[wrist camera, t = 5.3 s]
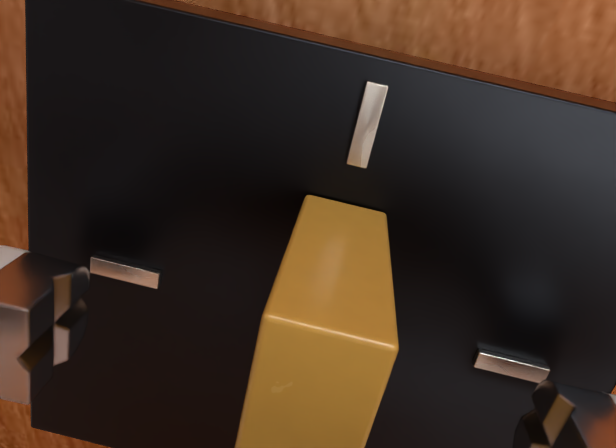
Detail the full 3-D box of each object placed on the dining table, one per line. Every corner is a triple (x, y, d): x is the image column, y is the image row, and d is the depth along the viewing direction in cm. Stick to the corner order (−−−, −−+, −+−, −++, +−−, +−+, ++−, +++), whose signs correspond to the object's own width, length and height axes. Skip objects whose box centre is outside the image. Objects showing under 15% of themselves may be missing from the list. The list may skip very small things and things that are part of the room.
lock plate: (93, 352, 15) (25, 433, 12) (111, -15, 11) (16, -28, 8) (490, 451, 14) (521, 559, 12) (656, 112, 11) (765, 147, 8)
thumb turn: (305, 192, 9) (256, 326, 5) (387, 211, 9) (403, 361, 5) (258, 404, 11) (197, 619, 7) (325, 420, 11) (301, 647, 7)
